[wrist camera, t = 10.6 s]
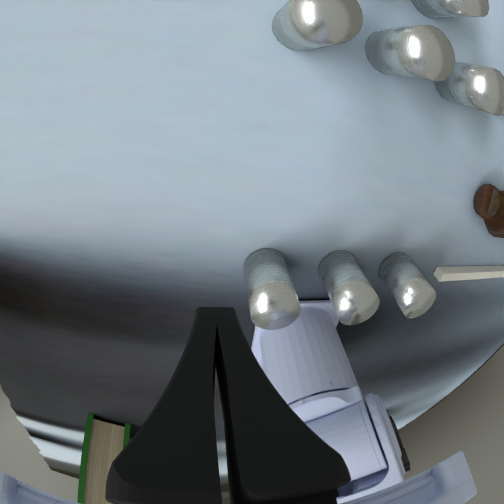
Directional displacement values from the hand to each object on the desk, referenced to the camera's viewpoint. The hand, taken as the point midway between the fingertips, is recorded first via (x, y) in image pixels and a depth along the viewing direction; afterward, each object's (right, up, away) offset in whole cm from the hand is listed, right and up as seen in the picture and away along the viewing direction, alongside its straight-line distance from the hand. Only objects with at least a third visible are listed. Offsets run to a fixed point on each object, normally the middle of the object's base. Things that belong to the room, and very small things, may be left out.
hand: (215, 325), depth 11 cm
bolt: (+29, +7, +11) cm, 32 cm away
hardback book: (-25, -31, +30) cm, 50 cm away
